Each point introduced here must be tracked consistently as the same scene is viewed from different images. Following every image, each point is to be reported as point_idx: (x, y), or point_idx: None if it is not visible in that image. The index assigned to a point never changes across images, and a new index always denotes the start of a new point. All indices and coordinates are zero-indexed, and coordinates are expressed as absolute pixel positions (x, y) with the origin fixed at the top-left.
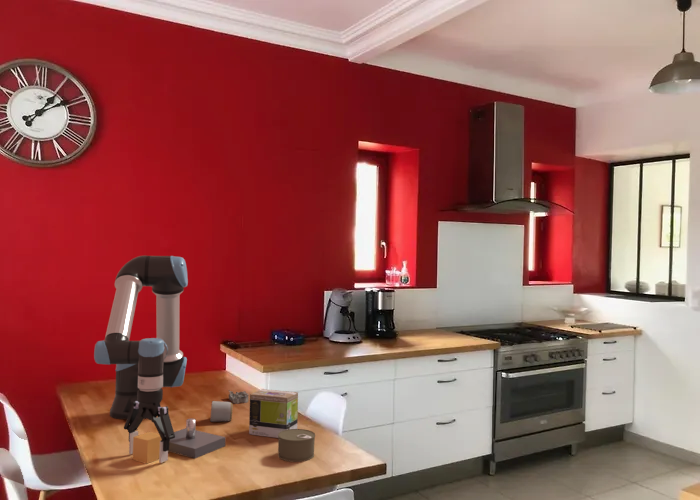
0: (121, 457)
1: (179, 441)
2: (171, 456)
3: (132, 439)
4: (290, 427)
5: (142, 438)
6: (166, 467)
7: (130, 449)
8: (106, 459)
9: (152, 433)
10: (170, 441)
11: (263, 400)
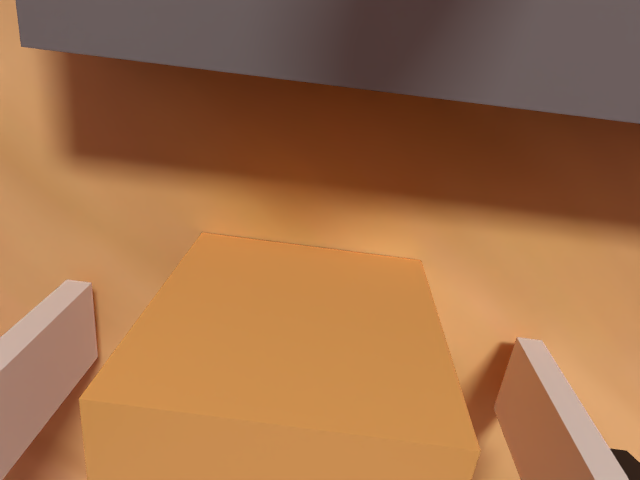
0: (74, 400)
1: None
2: (484, 196)
3: (2, 459)
4: None
5: None
6: (601, 430)
7: (67, 387)
8: (21, 467)
9: (214, 456)
10: (348, 44)
11: None
